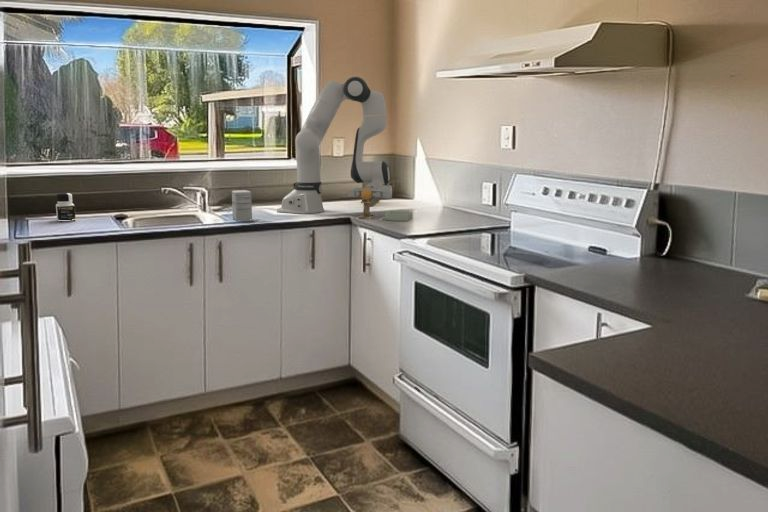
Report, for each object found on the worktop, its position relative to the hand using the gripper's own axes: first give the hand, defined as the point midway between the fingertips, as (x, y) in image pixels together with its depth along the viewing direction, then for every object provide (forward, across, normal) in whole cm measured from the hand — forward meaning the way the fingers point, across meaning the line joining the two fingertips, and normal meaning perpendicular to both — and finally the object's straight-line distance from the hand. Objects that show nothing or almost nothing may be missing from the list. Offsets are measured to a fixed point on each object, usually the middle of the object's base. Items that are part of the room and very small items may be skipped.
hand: (366, 194), depth 333 cm
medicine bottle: (+42, -124, +11) cm, 131 cm away
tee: (-1, 0, +10) cm, 11 cm away
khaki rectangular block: (-49, -11, +11) cm, 52 cm away
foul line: (0, +8, +10) cm, 13 cm away
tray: (0, +15, +10) cm, 18 cm away
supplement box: (+18, -52, +11) cm, 56 cm away
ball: (-1, 0, +2) cm, 3 cm away
